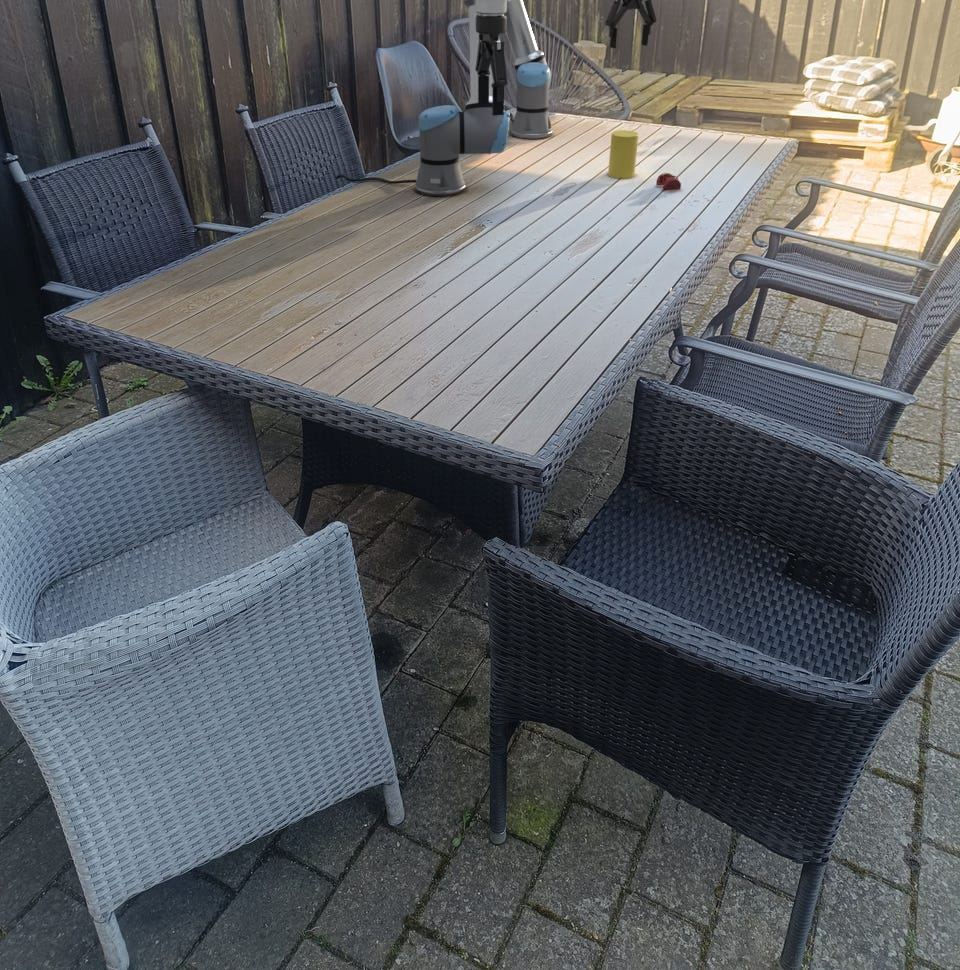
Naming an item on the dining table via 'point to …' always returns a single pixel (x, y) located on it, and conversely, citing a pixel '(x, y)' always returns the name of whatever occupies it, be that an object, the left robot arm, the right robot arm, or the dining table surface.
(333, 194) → the dining table surface
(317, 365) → the dining table surface
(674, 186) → the dental model
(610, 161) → the cylinder
